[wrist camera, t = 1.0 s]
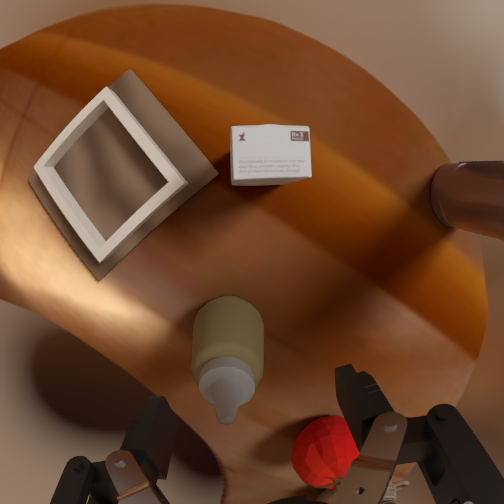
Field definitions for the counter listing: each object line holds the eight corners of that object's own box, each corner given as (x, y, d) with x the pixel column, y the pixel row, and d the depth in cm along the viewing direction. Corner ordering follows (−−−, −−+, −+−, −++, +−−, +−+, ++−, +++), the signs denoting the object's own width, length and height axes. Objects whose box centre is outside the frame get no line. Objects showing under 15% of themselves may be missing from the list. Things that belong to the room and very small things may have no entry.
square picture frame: (114, 92, 28) (106, 86, 26) (188, 183, 31) (184, 183, 29) (44, 167, 29) (33, 167, 27) (108, 257, 32) (99, 262, 30)
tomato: (353, 436, 42) (377, 488, 30) (288, 451, 42) (299, 508, 29) (359, 393, 40) (391, 450, 27) (283, 409, 40) (298, 475, 27)
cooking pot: (387, 441, 44) (410, 482, 32) (401, 470, 48) (419, 502, 36) (279, 490, 46) (286, 533, 34) (312, 511, 50) (320, 545, 38)
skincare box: (231, 186, 32) (228, 185, 20) (229, 147, 31) (226, 125, 19) (285, 184, 33) (313, 183, 21) (284, 146, 32) (310, 124, 20)
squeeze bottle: (236, 354, 37) (239, 461, 19) (184, 322, 35) (151, 422, 18) (274, 309, 36) (305, 407, 18) (221, 273, 34) (208, 356, 17)
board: (131, 70, 28) (129, 68, 27) (219, 173, 32) (218, 173, 31) (30, 178, 30) (27, 178, 29) (101, 279, 34) (99, 281, 33)
